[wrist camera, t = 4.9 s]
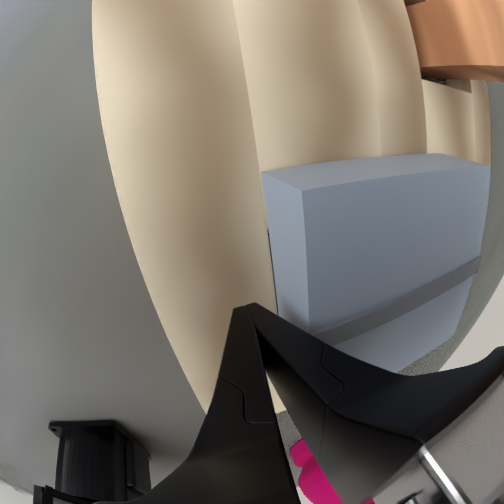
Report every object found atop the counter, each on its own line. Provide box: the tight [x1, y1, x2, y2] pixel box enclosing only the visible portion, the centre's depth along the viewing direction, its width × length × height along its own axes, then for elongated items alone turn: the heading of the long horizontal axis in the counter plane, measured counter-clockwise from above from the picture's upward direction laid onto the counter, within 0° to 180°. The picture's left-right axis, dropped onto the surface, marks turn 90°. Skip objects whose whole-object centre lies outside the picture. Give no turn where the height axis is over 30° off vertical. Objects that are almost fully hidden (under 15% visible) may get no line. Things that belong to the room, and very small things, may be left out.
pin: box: [406, 0, 504, 82], centre depth 6 cm, size 4×4×9 cm
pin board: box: [92, 0, 491, 414], centre depth 11 cm, size 20×24×2 cm
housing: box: [261, 153, 491, 373], centre depth 10 cm, size 9×9×3 cm
